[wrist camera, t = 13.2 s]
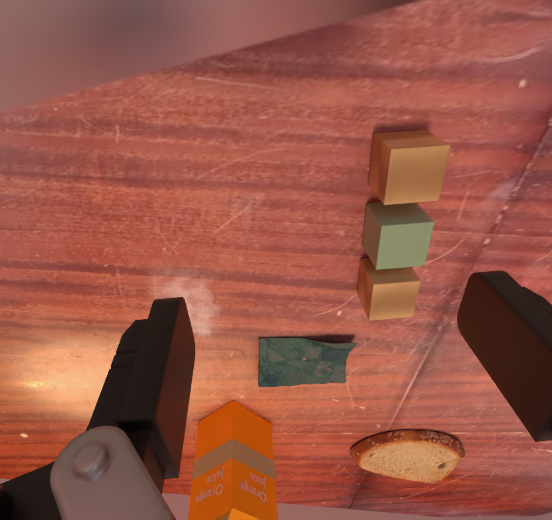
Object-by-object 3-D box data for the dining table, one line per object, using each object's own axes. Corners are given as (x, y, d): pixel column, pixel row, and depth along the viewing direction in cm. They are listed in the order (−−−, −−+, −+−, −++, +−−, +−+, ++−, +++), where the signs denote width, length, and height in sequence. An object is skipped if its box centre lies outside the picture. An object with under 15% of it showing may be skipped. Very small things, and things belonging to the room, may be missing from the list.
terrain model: (256, 376, 51) (257, 387, 50) (258, 335, 47) (259, 345, 46) (345, 374, 53) (348, 385, 51) (354, 334, 49) (358, 344, 47)
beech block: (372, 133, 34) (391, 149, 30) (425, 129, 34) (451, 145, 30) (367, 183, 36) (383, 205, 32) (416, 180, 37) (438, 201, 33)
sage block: (366, 203, 38) (381, 226, 34) (413, 199, 38) (434, 221, 34) (362, 244, 40) (375, 270, 36) (406, 240, 41) (424, 265, 36)
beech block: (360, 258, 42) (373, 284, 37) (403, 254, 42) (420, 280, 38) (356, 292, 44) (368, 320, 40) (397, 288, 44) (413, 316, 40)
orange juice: (236, 443, 61) (234, 603, 44) (197, 421, 56) (178, 590, 40) (272, 422, 58) (284, 584, 42) (234, 399, 54) (230, 568, 37)
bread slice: (344, 445, 64) (349, 467, 60) (443, 408, 60) (454, 430, 57) (378, 484, 73) (385, 505, 70) (467, 455, 69) (477, 475, 66)
